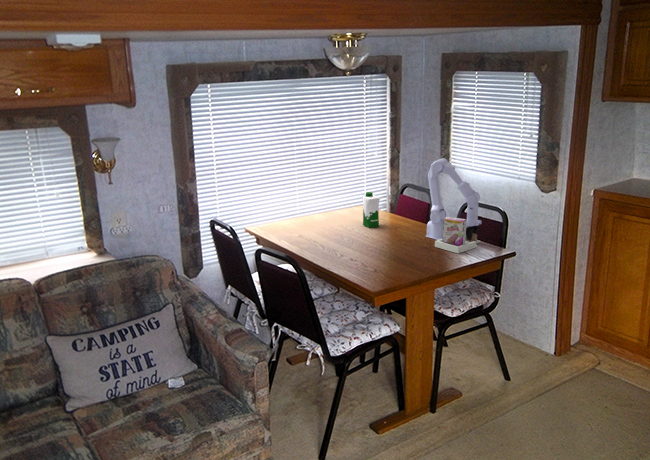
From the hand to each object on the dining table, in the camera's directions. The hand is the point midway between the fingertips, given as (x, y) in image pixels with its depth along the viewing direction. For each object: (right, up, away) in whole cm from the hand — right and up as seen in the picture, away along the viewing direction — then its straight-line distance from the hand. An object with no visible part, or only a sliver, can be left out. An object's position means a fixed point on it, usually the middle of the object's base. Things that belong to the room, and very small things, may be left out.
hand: (470, 239), depth 326 cm
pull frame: (-6, -3, -5) cm, 9 cm away
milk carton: (-52, +7, +34) cm, 62 cm away
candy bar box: (-12, -5, -10) cm, 16 cm away
